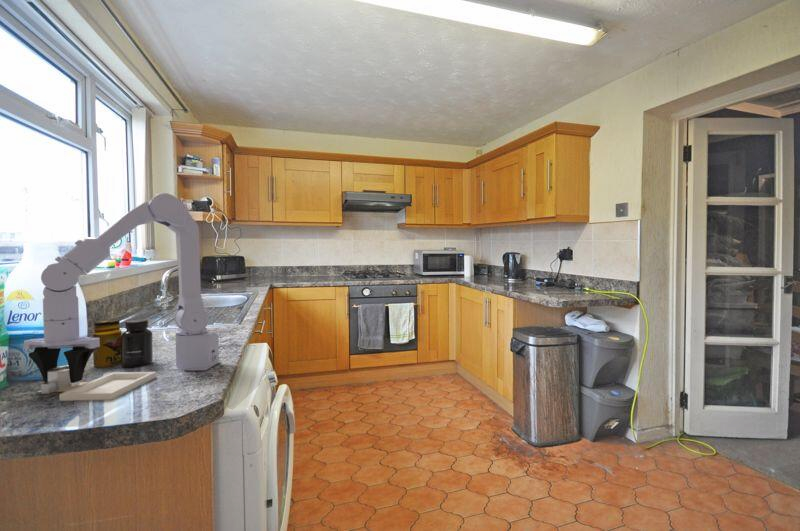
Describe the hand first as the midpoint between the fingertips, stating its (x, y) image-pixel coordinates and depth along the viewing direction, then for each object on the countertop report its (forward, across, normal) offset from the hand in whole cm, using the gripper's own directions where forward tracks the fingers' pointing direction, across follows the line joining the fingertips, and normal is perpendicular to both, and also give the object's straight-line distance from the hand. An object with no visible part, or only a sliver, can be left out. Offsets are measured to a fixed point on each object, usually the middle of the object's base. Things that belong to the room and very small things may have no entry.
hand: (63, 381), depth 82 cm
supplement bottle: (+2, +4, +17) cm, 18 cm away
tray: (+2, +12, -2) cm, 12 cm away
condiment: (+2, -4, +18) cm, 18 cm away
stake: (+2, 0, 0) cm, 2 cm away
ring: (+1, 0, 0) cm, 1 cm away
